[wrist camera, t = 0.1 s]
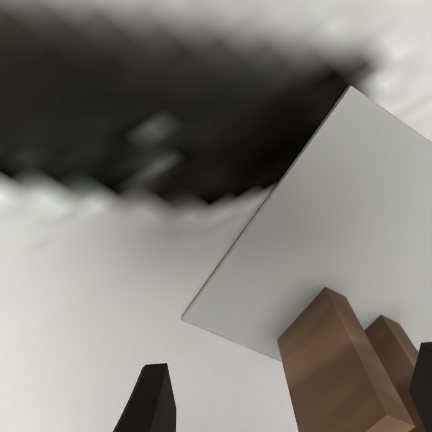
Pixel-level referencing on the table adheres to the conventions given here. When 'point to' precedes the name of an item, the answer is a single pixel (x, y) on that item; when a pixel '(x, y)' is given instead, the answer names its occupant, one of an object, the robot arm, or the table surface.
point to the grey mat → (333, 234)
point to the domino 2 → (396, 360)
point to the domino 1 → (338, 372)
